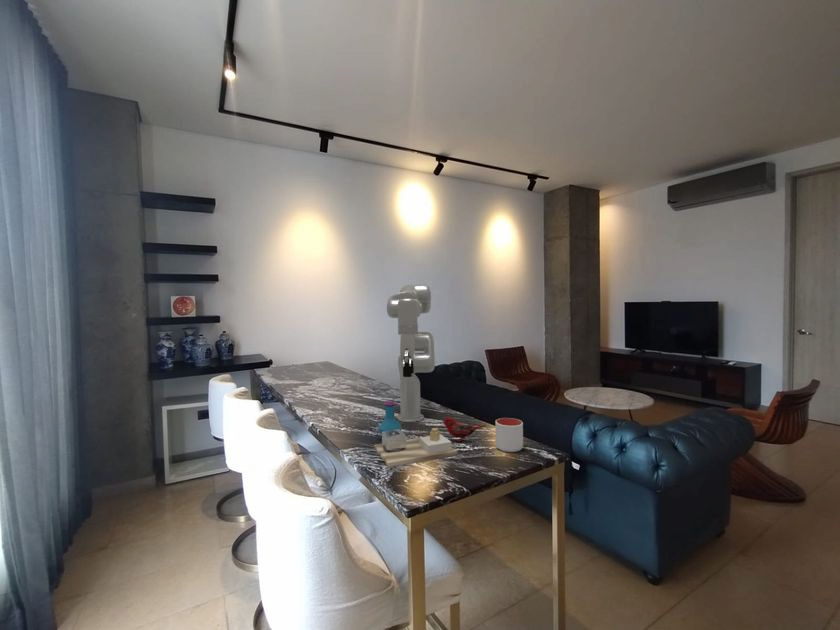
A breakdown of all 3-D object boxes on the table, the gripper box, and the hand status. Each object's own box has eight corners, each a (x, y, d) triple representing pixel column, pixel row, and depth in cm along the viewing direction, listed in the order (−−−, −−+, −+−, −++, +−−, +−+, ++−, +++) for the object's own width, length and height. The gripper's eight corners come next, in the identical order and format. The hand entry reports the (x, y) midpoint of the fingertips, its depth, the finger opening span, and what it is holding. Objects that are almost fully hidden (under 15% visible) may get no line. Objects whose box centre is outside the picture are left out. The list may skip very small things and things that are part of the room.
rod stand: (380, 445, 143) (380, 430, 142) (400, 442, 146) (400, 427, 145) (386, 453, 135) (386, 437, 135) (407, 450, 138) (407, 434, 138)
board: (374, 448, 144) (373, 444, 144) (436, 438, 153) (436, 435, 153) (387, 467, 127) (387, 463, 127) (457, 455, 137) (457, 450, 137)
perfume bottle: (389, 444, 148) (389, 406, 148) (374, 439, 154) (373, 402, 154) (406, 438, 155) (405, 401, 154) (390, 433, 161) (390, 398, 161)
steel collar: (382, 443, 142) (381, 431, 142) (399, 440, 145) (399, 429, 145) (387, 450, 136) (387, 437, 136) (405, 447, 138) (405, 434, 138)
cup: (509, 455, 136) (509, 427, 136) (490, 446, 144) (489, 420, 144) (528, 449, 141) (528, 422, 141) (509, 441, 150) (508, 416, 149)
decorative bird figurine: (441, 441, 151) (441, 416, 151) (485, 439, 153) (485, 414, 152) (442, 443, 148) (442, 418, 148) (487, 441, 150) (487, 416, 149)
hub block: (419, 445, 143) (418, 427, 142) (440, 441, 146) (440, 423, 146) (428, 454, 134) (428, 434, 134) (451, 450, 138) (451, 431, 137)
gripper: (400, 330, 155) (401, 372, 155) (395, 331, 138) (396, 378, 138) (418, 330, 155) (419, 372, 154) (416, 331, 138) (416, 378, 137)
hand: (408, 375), depth 146 cm, fingers open, 9 cm apart
